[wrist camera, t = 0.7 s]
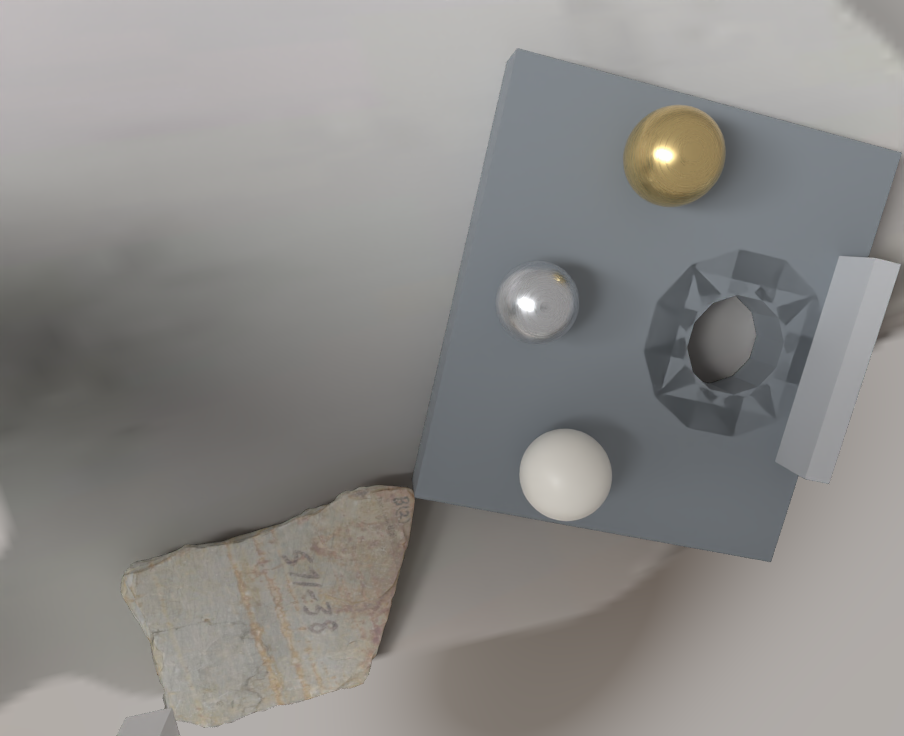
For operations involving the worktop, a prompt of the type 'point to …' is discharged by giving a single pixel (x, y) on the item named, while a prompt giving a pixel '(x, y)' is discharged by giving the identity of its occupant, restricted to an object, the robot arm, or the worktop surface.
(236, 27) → the worktop surface
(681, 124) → the brass ball
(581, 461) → the white ball
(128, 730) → the robot arm
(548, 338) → the steel ball
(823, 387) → the board
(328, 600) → the stone
